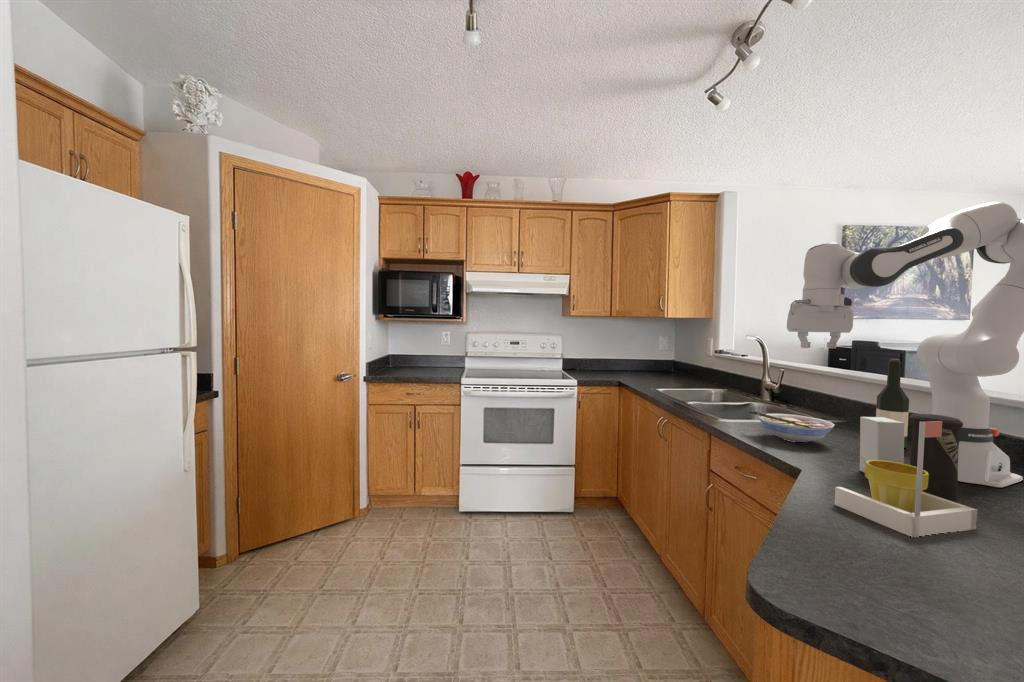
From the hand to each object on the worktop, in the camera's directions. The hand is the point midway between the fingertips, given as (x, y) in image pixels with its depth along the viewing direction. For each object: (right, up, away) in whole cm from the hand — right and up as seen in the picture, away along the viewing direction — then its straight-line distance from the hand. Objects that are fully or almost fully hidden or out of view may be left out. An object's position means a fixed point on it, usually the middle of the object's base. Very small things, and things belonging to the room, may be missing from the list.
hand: (818, 348), depth 125 cm
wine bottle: (+42, -34, +24) cm, 59 cm away
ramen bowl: (+12, -34, +29) cm, 46 cm away
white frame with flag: (-6, -35, -32) cm, 48 cm away
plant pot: (-5, -35, -30) cm, 46 cm away
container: (+11, -35, -23) cm, 43 cm away
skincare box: (+12, -35, -7) cm, 37 cm away
